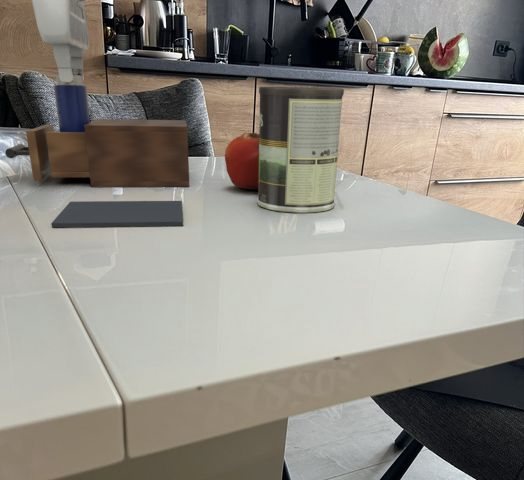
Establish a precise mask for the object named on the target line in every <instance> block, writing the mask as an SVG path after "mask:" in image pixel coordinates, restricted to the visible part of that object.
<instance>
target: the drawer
mask: <svg viewBox="0 0 524 480" xmlns="http://www.w3.org/2000/svg"><path fill="white" fill-rule="evenodd" d="M25 134H26V135H25V136H26V141H27V146H26V145H25V144H23V143H19V144H16V145H14V146H12V147H9V148H7V149H5V151H4V154H5V156H6V157H7V158H8V159H14V158H16V157H18V156H29V161H30V166H31V173H32V180H33V181H43V180H44V179H45V178H47V177H49V176H50V175H51V178H90V173H89V164H88V155H87V146H86V137H85V132H60V131H55V130H54V124H44V125H40V126H38V127H34V128H31V129H28V130H26V131H25Z"/></svg>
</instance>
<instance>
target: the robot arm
mask: <svg viewBox="0 0 524 480" xmlns="http://www.w3.org/2000/svg"><path fill="white" fill-rule="evenodd" d="M85 1H86V0H31V4H32V9H33V12H34V13H33V14H34V18H35V21H36V26H37V30H38V33H39V36H40V38H41V40H42V42H43V43H46V44H49V45H51V48H52V55H53V58H54V61H55V63H56V67H57V73H58V75H59V79H60V81H62V82H73V81H74V75H81V77H82V83H83V82H84V81H85V77H84V51H88V50H89V49H90V40H89V39H90V38H89V30H88V23H87V15H86V9H85V3H84V2H85Z"/></svg>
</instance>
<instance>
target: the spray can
mask: <svg viewBox="0 0 524 480" xmlns="http://www.w3.org/2000/svg"><path fill="white" fill-rule="evenodd" d="M55 79H56V84H54V85H53V90H54V98H55V105H56V113H57V114H56V115H57V122H58V128H59V132H85V129H84V125H86V124H88V123H90V122H91V121H90V119H91V118H90V111H89V110H90V109H89V101H88V92H87V86H86V85H83V82H82V77H81V75H74V81H73V82H62V81H60V79H59V74H55Z"/></svg>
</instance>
